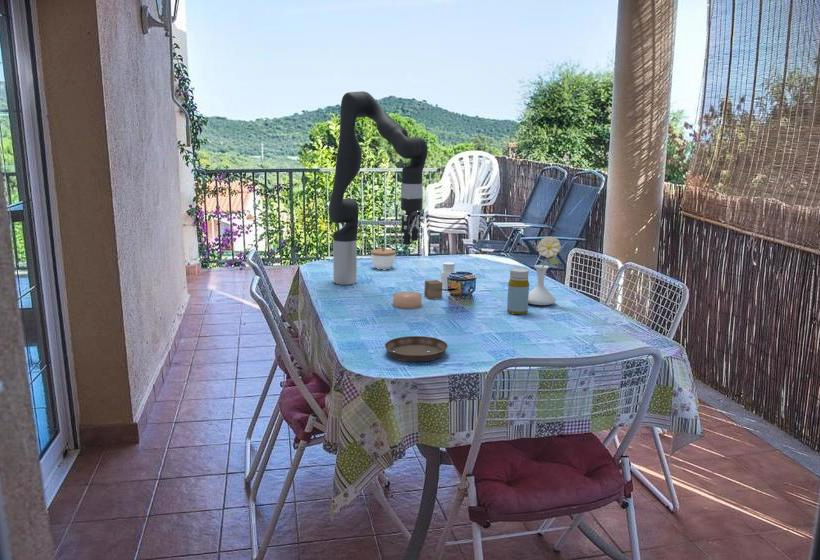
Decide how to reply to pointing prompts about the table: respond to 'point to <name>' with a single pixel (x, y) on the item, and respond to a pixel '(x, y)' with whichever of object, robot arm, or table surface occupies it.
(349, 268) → the robot arm
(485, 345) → the table surface
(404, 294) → the terracotta puck
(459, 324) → the table surface
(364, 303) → the table surface
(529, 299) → the flower in vase
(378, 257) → the lidded jar
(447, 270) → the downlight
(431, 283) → the walnut block
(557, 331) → the table surface
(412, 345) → the plant saucer
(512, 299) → the bottle
